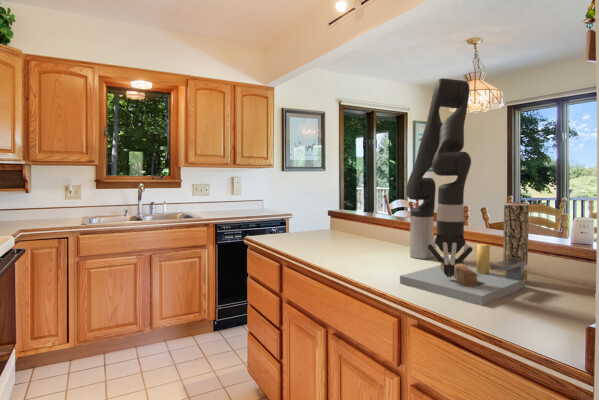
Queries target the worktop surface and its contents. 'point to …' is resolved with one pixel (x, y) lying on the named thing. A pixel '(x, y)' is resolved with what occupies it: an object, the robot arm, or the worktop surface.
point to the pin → (483, 258)
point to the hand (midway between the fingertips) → (449, 276)
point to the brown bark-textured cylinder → (516, 233)
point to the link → (463, 274)
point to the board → (480, 294)
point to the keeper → (511, 268)
